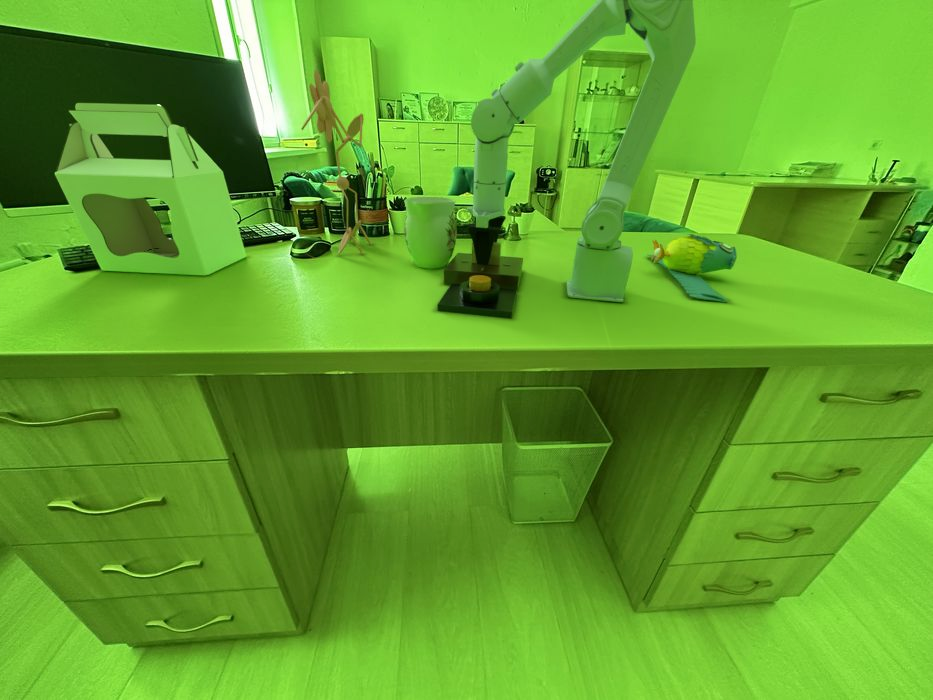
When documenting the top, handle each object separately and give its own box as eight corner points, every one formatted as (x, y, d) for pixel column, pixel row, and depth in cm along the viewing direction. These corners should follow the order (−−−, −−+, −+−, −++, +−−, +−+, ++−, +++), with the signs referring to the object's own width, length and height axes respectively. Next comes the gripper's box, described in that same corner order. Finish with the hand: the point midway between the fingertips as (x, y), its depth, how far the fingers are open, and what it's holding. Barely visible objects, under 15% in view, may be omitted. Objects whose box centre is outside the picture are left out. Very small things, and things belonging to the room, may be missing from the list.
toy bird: (641, 218, 86) (708, 223, 85) (631, 255, 90) (695, 260, 89) (686, 249, 62) (782, 257, 61) (669, 298, 66) (759, 305, 65)
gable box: (99, 270, 72) (15, 99, 58) (154, 252, 84) (94, 105, 70) (208, 276, 71) (148, 102, 57) (248, 257, 82) (207, 108, 68)
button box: (516, 295, 66) (518, 279, 64) (511, 318, 58) (513, 300, 56) (451, 289, 68) (451, 273, 66) (437, 311, 59) (437, 293, 58)
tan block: (500, 263, 73) (501, 241, 70) (499, 265, 71) (500, 243, 69) (472, 260, 74) (473, 239, 71) (471, 263, 72) (472, 241, 70)
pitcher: (461, 253, 89) (462, 192, 82) (451, 277, 74) (451, 204, 67) (416, 250, 90) (414, 190, 83) (397, 274, 75) (392, 202, 68)
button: (491, 285, 63) (492, 276, 62) (488, 293, 60) (489, 283, 59) (471, 284, 63) (471, 274, 62) (467, 291, 60) (467, 281, 59)
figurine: (381, 237, 101) (366, 80, 84) (358, 265, 79) (331, 60, 62) (325, 235, 101) (299, 79, 84) (286, 263, 79) (239, 57, 61)
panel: (521, 271, 78) (523, 256, 76) (517, 291, 68) (519, 275, 66) (457, 266, 80) (457, 251, 79) (443, 284, 70) (443, 268, 68)
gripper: (474, 177, 72) (472, 247, 79) (458, 186, 60) (457, 267, 66) (510, 179, 71) (505, 250, 78) (502, 188, 58) (496, 271, 65)
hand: (485, 258), depth 72 cm, fingers open, 7 cm apart
